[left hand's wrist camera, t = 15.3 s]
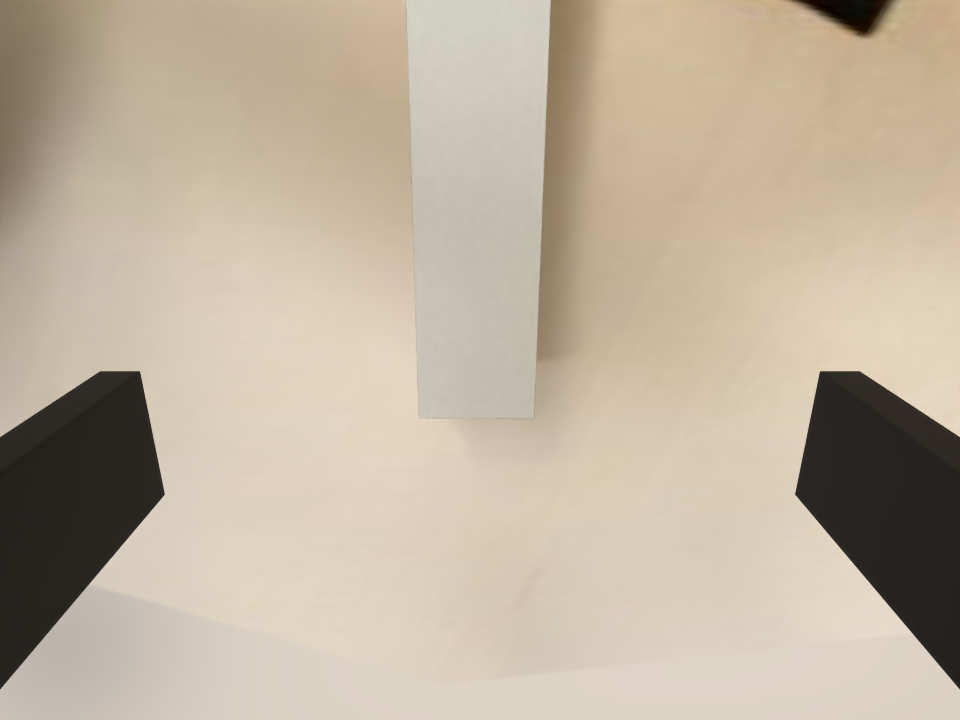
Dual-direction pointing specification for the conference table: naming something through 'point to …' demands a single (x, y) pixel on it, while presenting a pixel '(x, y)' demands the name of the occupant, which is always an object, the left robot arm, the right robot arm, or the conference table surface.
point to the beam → (477, 201)
